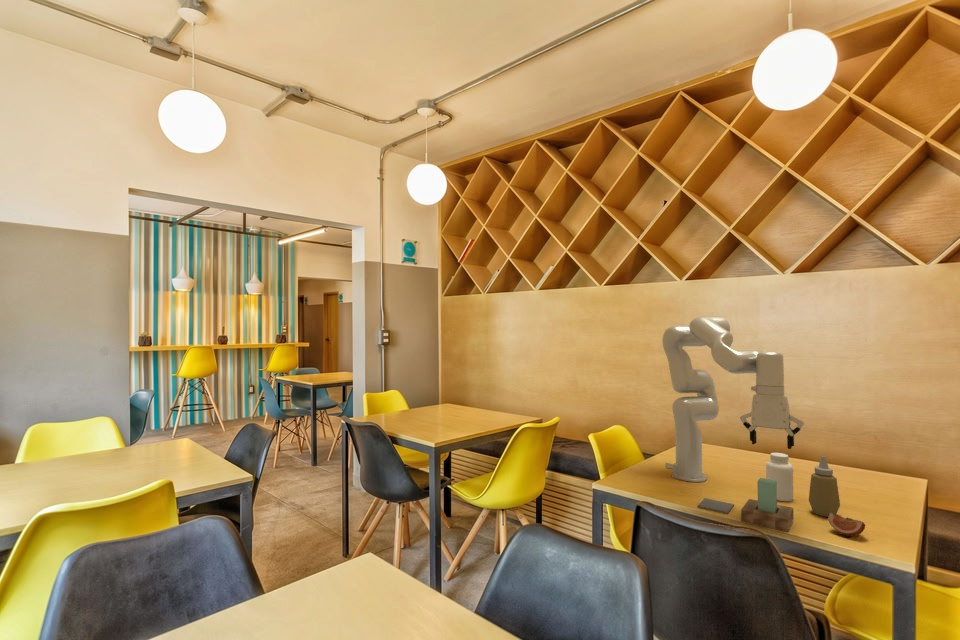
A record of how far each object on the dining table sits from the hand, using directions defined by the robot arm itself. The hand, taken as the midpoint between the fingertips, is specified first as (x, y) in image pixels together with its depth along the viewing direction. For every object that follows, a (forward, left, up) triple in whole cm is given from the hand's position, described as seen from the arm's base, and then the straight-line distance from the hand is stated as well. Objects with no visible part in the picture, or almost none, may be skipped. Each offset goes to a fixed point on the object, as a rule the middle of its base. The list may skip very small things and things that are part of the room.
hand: (771, 445), depth 148 cm
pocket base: (-1, -5, -22) cm, 22 cm away
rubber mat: (-16, -3, -22) cm, 27 cm away
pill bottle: (-1, +20, -22) cm, 30 cm away
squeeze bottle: (+12, +12, -22) cm, 28 cm away
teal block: (-1, -5, -22) cm, 22 cm away
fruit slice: (+18, -2, -22) cm, 29 cm away
